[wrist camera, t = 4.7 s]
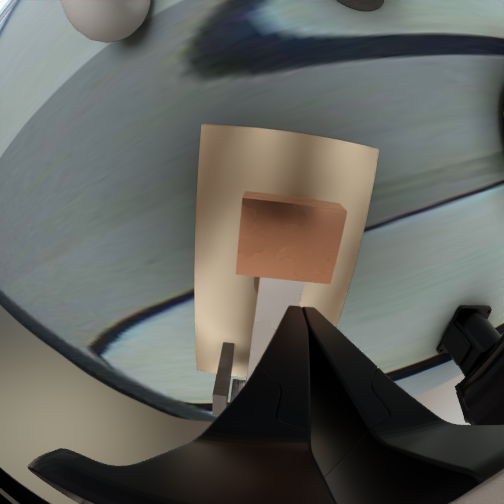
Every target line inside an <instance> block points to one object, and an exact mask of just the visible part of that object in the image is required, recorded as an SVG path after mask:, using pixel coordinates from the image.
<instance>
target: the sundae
mask: <svg viewBox="0 0 504 504" xmlns="http://www.w3.org/2000/svg"><path fill="white" fill-rule="evenodd" d="M338 1H339V2H341V3H342V4H344V5H346V6H348V7H350V8H353V9H357V10H360V11H373V10H376V9H378V8H380V7H381V6H382V4H383V3H384V0H338Z"/></svg>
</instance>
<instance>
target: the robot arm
mask: <svg viewBox="0 0 504 504" xmlns="http://www.w3.org/2000/svg"><path fill="white" fill-rule="evenodd" d="M491 310H492V309H491V307H490V306H460V307H459V308H458V310H457V312H456V314H455V316H454V318H453V320H452V322H451V324H450V326H449V328H448V330H447V332H446V333H445V335H444V337H443V339H442V341H441V343H440V344H439V346H438V348H437V352H438V354H442V353H449V354H450V355H451V357H452V359H453V360H454V362H455V363H456V365H458V366H459V368H460V369H461V371H462V373H463V374H464V376H465V378H464V379H463V380H462V381H461V382H460V383H458V384H457V385H456V386H455V388H456V391H457V392H456V394H457V396H458V399H459V403H460V406H461V409H462V412H463V415H464V420H465V422H466V423H470V424H471V425H457V424H452V423H449V422H447V421H444V420H443V419H441V418H440V417H438V416H437V415H435V414H434V413H433V412H431V411H430V410H429V409H427V408H426V407H425V406H423V405H422V404H421V403H419V402H418V401H417V400H416V399H414V398H413V397H412V396H410V395H409V394H408V393H407V392H405V391H404V390H403V389H402V388H401V387H399V386H398V385H397V384H396V383H395V382H394V381H392V380H391V379H390V378H389V377H388V376H387V375H386V374H385V373H384V372H383V371H382V370H380V369H379V368H377V366H376V365H375V364H374V363H373V362H372V361H371V360H370V359H369V358H368V357H367V356H366V355H365V354H363V353H362V352H361V351H360V350H359V349H358V348H357V347H356V346H355V345H354V344H353V343H352V342H351V341H350V340H349V339H348V338H346V337H345V336H344V335H343V334H342V333H341V332H340V331H339V330H338V329H337V328H336V327H335V326H334V325H333V324H332V323H331V322H330V321H328V320H327V319H326V318H325V317H324V316H323V315H322V314H321V313H320V312H319V311H318V310H317V309H316V308H314V307H305V306H304V307H301V306H293V305H289V306H288V308H287V310H286V312H285V314H284V316H283V317H282V319H281V321H280V323H279V325H278V327H277V329H276V331H275V333H274V335H273V336H272V338H271V340H270V342H269V344H268V346H267V348H266V349H265V351H264V353H263V355H262V357H261V359H260V360H259V362H258V364H257V366H256V367H255V369H254V371H253V373H252V374H251V376H250V377H249V379H248V381H247V382H246V384H245V385H244V387H243V388H242V389H241V390H240V392H239V393H238V394H237V395H236V397H235V398H234V399H233V400H232V401H231V403H230V404H229V405H228V406H227V407H226V408H225V409H224V410H223V411H222V413H221V414H220V415H219V416H218V417H217V418H216V419H215V420H214V421H213V422H212V424H211V425H210V426H209V427H208V428H207V429H206V430H205V431H204V432H203V433H201V434H200V435H199V436H198V437H197V438H195V439H194V440H192V441H191V442H189V443H187V444H184V445H182V446H180V447H177V448H175V449H173V450H171V451H168V452H166V453H163V454H161V455H158V456H156V457H153V458H150V459H148V460H145V461H143V462H140V463H137V464H132V465H128V466H114V465H107V464H103V463H100V462H97V461H95V460H92V459H90V458H88V457H85V456H83V455H81V454H79V453H76V452H74V451H71V450H68V449H62V448H60V449H57V450H54V451H52V452H49V453H46V454H43V455H41V456H39V457H37V458H36V459H34V460H33V461H32V462H31V463H30V464H29V465H28V469H29V470H30V471H31V472H32V473H34V474H35V475H36V476H38V477H39V478H40V479H42V480H43V481H44V482H46V483H48V484H49V485H50V486H52V487H53V488H55V489H56V490H58V491H59V492H61V493H62V494H64V495H66V496H67V497H69V498H71V499H72V500H74V501H76V502H77V503H79V504H504V334H503V335H502V336H501V335H500V334H499V333H498V332H497V330H496V329H495V328H494V327H493V326H492V324H491V323H490V322H489V321H488V320H487V319H488V317H489V315H490V313H491ZM0 504H51V503H49V502H48V501H46V500H45V499H43V498H41V497H40V496H38V495H37V494H35V493H34V492H32V491H31V490H30V489H28V488H27V487H25V486H24V485H22V484H21V483H20V482H18V481H17V480H16V479H14V478H13V477H12V476H11V475H9V474H8V473H7V472H6V471H4V470H3V469H2V468H1V467H0Z"/></svg>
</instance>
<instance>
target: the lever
mask: <svg viewBox="0 0 504 504" xmlns="http://www.w3.org/2000/svg"><path fill="white" fill-rule="evenodd" d="M346 216H347V211H346V210H345V208H344V207H343V206H342V205H341V204H340V203H334V202H328V201H321V200H314V199H307V198H300V197H293V196H285V195H277V194H268V193H259V192H250V191H245V192H244V195H243V197H242V207H241V218H240V229H239V241H238V252H237V264H236V275H245V276H254V277H260V280H259V287H258V295H257V302H256V310H255V318H254V325H253V332H252V340H251V347H250V354H249V362H248V369H247V376H246V380H238V379H233V383H232V391H231V400H230V403H231V401H232V400H233V399H234V398H235V397H236V395H237V394H238V393H239V392H240V390H241V389H242V388H243V387H244V385H245V384H246V382H247V381H248V379H249V377H250V376H251V374H252V373H253V371H254V369H255V367H256V366H257V364H258V362H259V360H260V359H261V357H262V355H263V353H264V351H265V349H266V348H267V346H268V344H269V342H270V340H271V338H272V336H273V335H274V333H275V331H276V329H277V327H278V325H279V323H280V321H281V319H282V317H283V316H284V314H285V312H286V310H287V308H288V306H289V305H293V306H300V302H301V298H302V294H303V289H304V285H305V282H311V283H322V284H331V280H332V276H333V272H334V269H335V265H336V260H337V256H338V252H339V248H340V244H341V239H342V235H343V230H344V226H345V221H346Z"/></svg>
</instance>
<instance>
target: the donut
mask: <svg viewBox="0 0 504 504" xmlns="http://www.w3.org/2000/svg"><path fill="white" fill-rule="evenodd" d="M150 1H151V0H61V4H62V7H63V9H64V12H65V14H66V17H67V19H68V20H69V21H70V22H71V24H72V25H73V26H74V28H75V29H76V30H77V31H79V32H80V33H82V34H83V35H84V36H86V37H87V38H89V39H90V40H95V41H100V42H106V43H109V42H114V41H117V40H120V39H124V38H126V37H128V36H130V35H131V34H132V33H133V32H135V31H136V29H137V28H138V27H139V26H140V25H141V24H142V23H143V21H144V20H145V17H146V15H147V13H148V10H149V6H150Z"/></svg>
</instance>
